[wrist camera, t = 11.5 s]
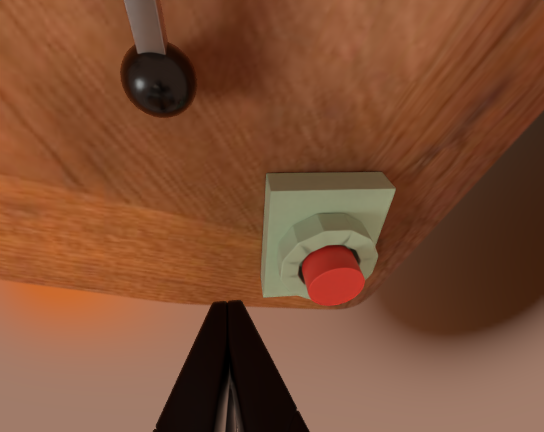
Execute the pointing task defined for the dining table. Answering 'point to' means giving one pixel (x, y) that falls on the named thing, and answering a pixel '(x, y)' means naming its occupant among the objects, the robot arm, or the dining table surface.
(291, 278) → the green button base
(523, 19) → the dining table surface
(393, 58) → the dining table surface
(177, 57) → the switch lever
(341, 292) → the stop button
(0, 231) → the dining table surface
